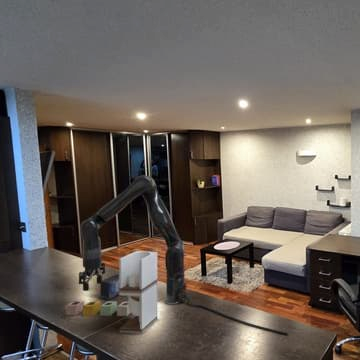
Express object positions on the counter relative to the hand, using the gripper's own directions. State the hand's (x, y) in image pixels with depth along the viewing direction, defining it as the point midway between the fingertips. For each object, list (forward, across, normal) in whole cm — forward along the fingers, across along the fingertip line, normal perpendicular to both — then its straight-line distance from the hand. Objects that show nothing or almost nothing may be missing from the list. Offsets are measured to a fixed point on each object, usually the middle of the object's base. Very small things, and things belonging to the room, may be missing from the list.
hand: (93, 286), depth 141 cm
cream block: (+14, 0, -17) cm, 22 cm away
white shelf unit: (+14, -12, -30) cm, 36 cm away
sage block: (+14, 0, -8) cm, 16 cm away
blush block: (+14, 0, +9) cm, 16 cm away
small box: (+14, +19, +3) cm, 23 cm away
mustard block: (+14, 0, +1) cm, 14 cm away
